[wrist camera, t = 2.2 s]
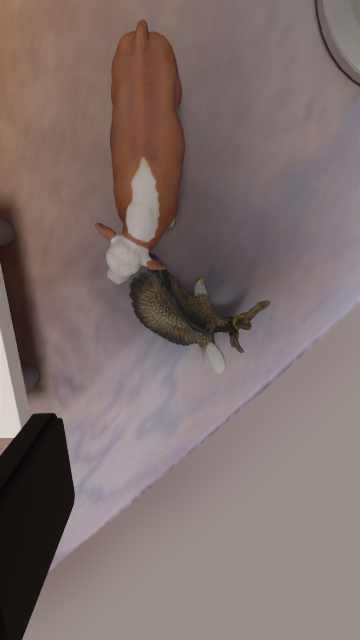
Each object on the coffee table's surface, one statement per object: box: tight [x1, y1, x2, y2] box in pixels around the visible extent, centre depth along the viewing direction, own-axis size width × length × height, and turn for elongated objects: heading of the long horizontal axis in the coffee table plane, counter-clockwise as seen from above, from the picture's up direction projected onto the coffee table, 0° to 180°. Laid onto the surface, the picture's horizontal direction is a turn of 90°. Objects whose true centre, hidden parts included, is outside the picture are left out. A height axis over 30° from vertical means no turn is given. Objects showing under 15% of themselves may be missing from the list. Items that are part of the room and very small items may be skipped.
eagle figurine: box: [129, 252, 270, 375], centre depth 24 cm, size 8×7×9 cm
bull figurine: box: [95, 20, 185, 284], centre depth 20 cm, size 4×14×8 cm, turn 173°
